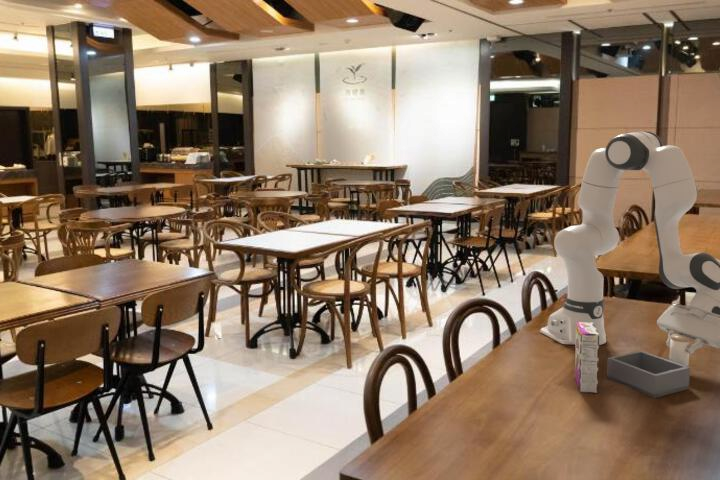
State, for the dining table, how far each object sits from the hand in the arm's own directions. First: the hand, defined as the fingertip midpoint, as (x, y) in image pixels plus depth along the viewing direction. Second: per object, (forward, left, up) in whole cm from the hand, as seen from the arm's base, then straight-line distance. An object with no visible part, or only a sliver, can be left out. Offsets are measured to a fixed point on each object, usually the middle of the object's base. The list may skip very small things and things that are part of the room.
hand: (678, 348), depth 185 cm
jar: (0, +1, -4) cm, 4 cm away
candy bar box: (-5, -29, -7) cm, 31 cm away
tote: (+2, -14, -7) cm, 16 cm away
